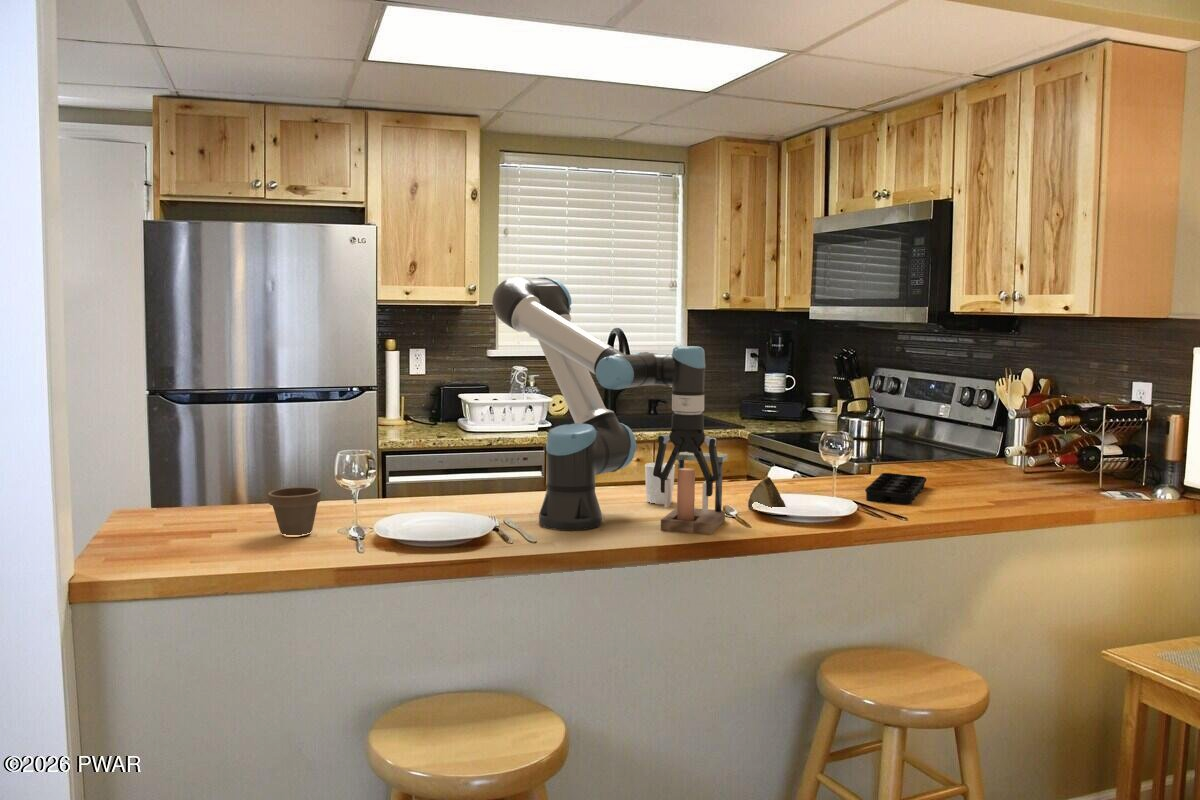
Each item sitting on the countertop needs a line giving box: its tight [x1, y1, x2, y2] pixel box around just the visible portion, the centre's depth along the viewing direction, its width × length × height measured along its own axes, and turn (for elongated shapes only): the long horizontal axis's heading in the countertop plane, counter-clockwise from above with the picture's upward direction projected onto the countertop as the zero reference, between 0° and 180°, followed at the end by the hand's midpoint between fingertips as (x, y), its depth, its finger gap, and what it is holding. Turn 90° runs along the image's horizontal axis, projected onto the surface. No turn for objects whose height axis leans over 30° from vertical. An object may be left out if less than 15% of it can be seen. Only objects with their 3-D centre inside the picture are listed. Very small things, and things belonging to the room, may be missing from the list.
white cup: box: [644, 462, 676, 505], centre depth 264 cm, size 8×8×10 cm
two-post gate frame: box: [676, 452, 728, 512], centre depth 243 cm, size 12×5×14 cm, turn 71°
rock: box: [747, 475, 787, 513], centre depth 254 cm, size 11×9×10 cm
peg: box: [676, 467, 696, 521], centre depth 235 cm, size 4×4×14 cm
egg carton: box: [865, 472, 927, 506], centre depth 278 cm, size 18×30×4 cm, turn 167°
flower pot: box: [267, 486, 322, 535], centre depth 225 cm, size 12×11×10 cm
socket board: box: [660, 507, 726, 535], centre depth 238 cm, size 12×15×2 cm
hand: (686, 507), depth 235 cm, fingers open, 8 cm apart
